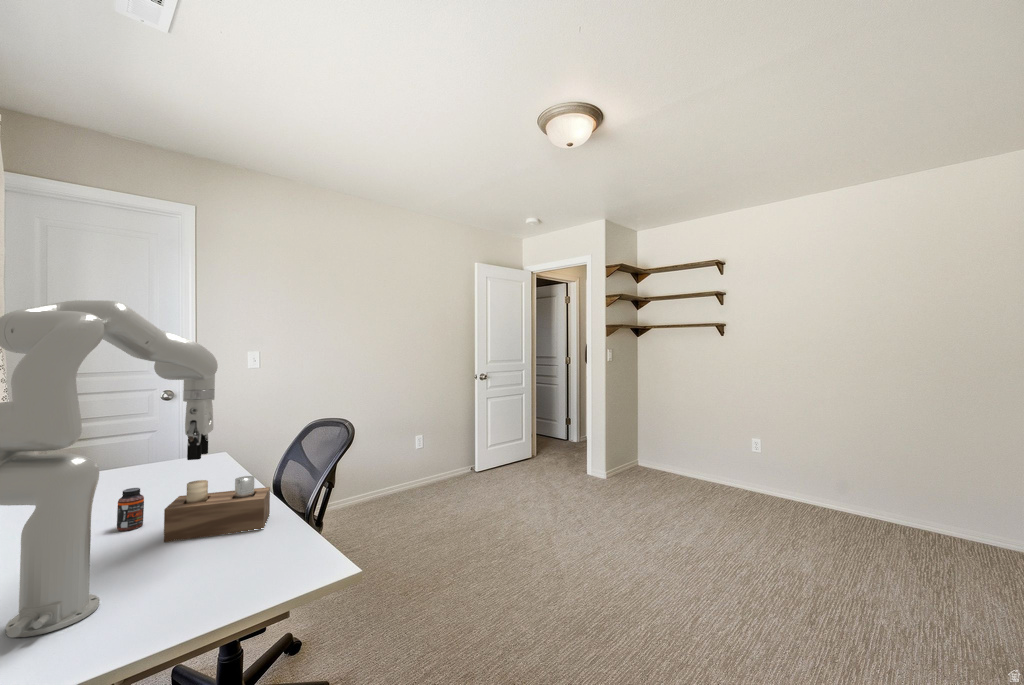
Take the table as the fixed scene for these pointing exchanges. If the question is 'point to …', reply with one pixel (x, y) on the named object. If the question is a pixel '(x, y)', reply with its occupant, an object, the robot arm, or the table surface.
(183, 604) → the table surface
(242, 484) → the gray peg
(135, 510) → the supplement bottle
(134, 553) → the table surface
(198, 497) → the peg left
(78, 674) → the table surface
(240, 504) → the walnut block
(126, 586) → the table surface
